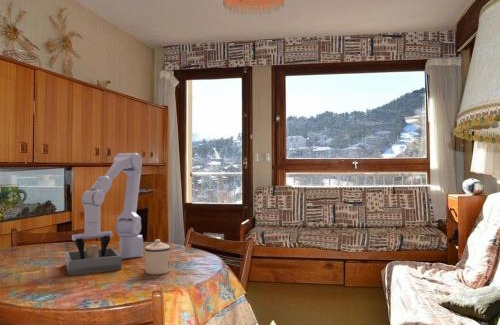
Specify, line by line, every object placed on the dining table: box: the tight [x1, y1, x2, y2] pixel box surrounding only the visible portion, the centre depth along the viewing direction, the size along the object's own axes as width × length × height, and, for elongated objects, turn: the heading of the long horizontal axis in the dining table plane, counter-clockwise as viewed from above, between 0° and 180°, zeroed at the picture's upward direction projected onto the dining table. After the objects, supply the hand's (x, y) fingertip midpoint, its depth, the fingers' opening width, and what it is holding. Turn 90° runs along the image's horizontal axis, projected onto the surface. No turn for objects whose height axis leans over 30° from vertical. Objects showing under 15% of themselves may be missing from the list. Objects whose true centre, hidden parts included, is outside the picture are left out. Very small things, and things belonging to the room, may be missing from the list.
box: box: [64, 247, 122, 276], centre depth 160 cm, size 18×18×5 cm
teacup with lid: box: [144, 238, 171, 275], centre depth 154 cm, size 12×9×12 cm
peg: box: [85, 244, 100, 259], centre depth 160 cm, size 4×4×8 cm
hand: (92, 257), depth 160 cm, fingers open, 7 cm apart
